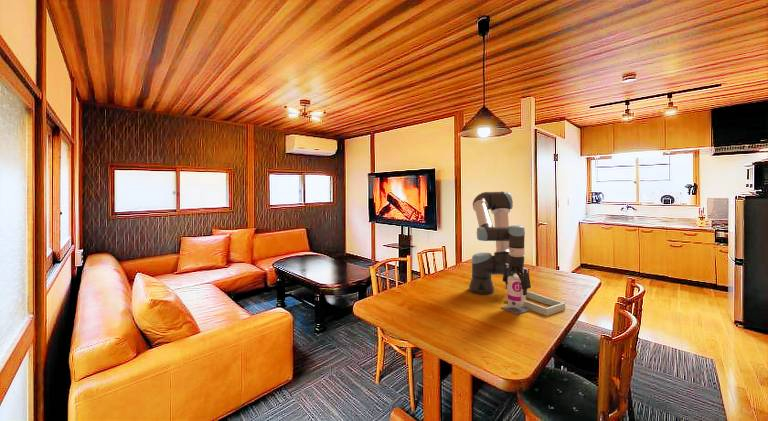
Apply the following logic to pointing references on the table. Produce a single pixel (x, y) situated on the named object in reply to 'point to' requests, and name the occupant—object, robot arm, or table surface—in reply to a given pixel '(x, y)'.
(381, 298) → the table surface
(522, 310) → the mat
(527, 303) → the grey rectangular frame
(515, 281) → the supplement can
